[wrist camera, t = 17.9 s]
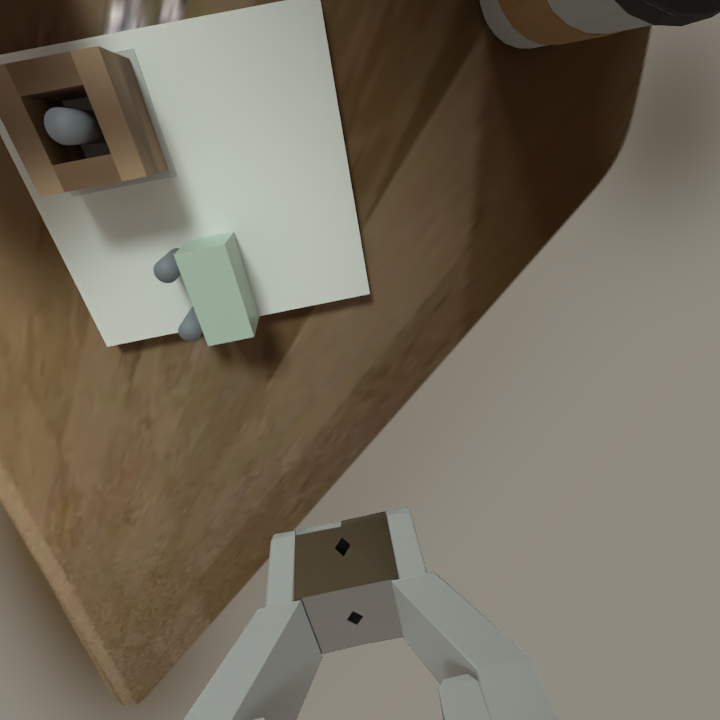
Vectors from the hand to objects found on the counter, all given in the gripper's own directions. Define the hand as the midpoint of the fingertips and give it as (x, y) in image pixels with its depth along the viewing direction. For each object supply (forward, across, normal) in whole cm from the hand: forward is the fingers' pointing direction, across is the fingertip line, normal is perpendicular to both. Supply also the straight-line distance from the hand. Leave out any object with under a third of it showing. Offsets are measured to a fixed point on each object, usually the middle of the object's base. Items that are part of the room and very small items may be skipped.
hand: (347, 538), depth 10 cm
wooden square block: (+23, +10, -10) cm, 27 cm away
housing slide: (+23, +7, 0) cm, 24 cm away
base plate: (+24, +6, -6) cm, 26 cm away
